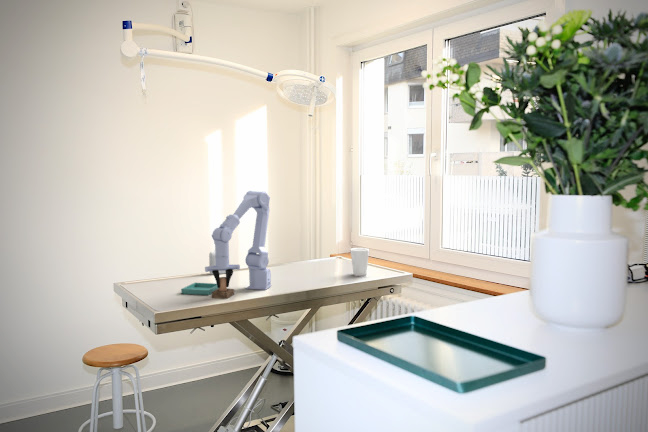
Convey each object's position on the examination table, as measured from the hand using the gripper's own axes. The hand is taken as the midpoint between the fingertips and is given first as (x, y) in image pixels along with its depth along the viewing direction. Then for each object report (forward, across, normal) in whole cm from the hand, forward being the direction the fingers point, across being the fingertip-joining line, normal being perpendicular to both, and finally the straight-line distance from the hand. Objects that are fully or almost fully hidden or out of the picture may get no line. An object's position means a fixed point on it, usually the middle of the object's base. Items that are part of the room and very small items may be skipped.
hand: (222, 287), depth 236 cm
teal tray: (+4, +8, -12) cm, 15 cm away
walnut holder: (+4, 0, 0) cm, 4 cm away
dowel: (+4, 0, 0) cm, 4 cm away
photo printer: (+4, -6, -48) cm, 48 cm away
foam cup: (+4, -73, -19) cm, 75 cm away
